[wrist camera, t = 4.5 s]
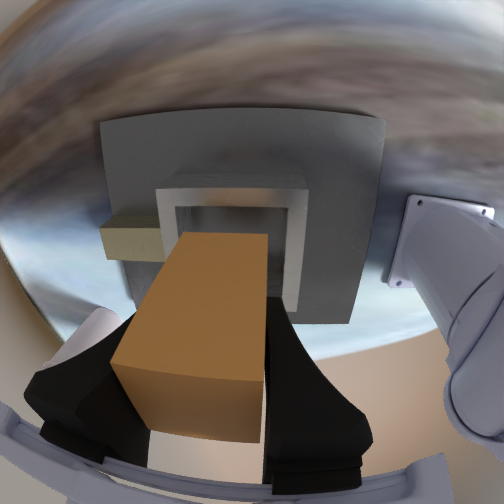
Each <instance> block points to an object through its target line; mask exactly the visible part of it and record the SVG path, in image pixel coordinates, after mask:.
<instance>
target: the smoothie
mask: <svg viewBox="0 0 504 504" xmlns="http://www.w3.org/2000/svg"><path fill="white" fill-rule="evenodd" d="M121 324H123V322H122V320H121V319H120V318H119V316H118V315H117V314H115V313H114V312H113V311H111V310H109V309H107V308H103V307H99V308H96V309H95V310H94V311H93V312H92V313H91V314H90V315H89V316H88V318H87V319H86V320H85V321H84V322H83V323H82V324H81V325H80V326H79V328H78V329H77V330H76V331H75V332H74V333H73V334H72V336H71V337H70V338H69V339H68V340H67V341H66V343H65V344H64V345H63V346H62V347H61V348H60V350H59V351H58V352H57V353H56V354H55V356H54V357H53V358H52V359H51V361H48V362H45V363H44V364H43V367H42V368H41V370H44V369H46V368H49V367H52V366H55V365H57V364H59V363H62V362H64V361H66V360H68V359H70V358H72V357H74V356H76V355H78V354H80V353H81V352H83V351H85V350H86V349H88V348H90V347H92V346H93V345H95V344H96V343H98V342H99V341H101V340H102V339H104V338H105V337H106V336H108V335H109V334H110V333H112V332H113V331H114V330H115V329H117V328H118V327H119V326H120V325H121ZM41 370H40V371H41Z"/></svg>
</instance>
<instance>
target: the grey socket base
mask: <svg viewBox="0 0 504 504" xmlns="http://www.w3.org/2000/svg"><path fill="white" fill-rule="evenodd" d="M385 128H386V119H381V118H376V117H370V116H364V115H356V114H349V113H340V112H331V111H321V110H308V109H292V108H260V107H241V108H210V109H193V110H181V111H170V112H161V113H153V114H145V115H138V116H131V117H125V118H119V119H113V120H108V121H104V122H100V134H101V144H102V152H103V161H104V168H105V175H106V182H107V188H108V194H109V200H110V205H111V210H112V215H113V216H112V217H111V218H110V219H109V220H108V221H107V222H106V223H105V224H103V225H102V226H101V227H100V228H99V229H100V234H101V238H102V242H103V246H104V250H105V253H106V257H107V260H123V264H124V268H125V272H126V275H127V279H128V283H129V286H130V290H131V293H132V297H133V300H134V303H135V307H136V310H138V308H139V306H140V304H141V303H142V301H143V299H144V297H145V296H146V294H147V292H148V290H149V289H150V287H151V285H152V283H153V282H154V280H155V278H156V276H157V275H158V273H159V271H160V270H161V268H162V266H163V265H164V263H165V261H166V260H167V258H168V256H169V255H170V253H171V251H172V250H173V248H174V246H175V245H176V243H177V242H178V240H179V238H180V237H181V235H182V234H183V232H205V233H250V234H268V254H267V295H266V297H281V298H282V299H283V303H284V307H285V310H286V312H287V315H288V317H289V320H290V322H291V324H349V321H350V317H351V314H352V310H353V306H354V303H355V299H356V295H357V291H358V287H359V283H360V279H361V275H362V271H363V267H364V263H365V258H366V254H367V249H368V244H369V239H370V234H371V229H372V224H373V218H374V213H375V207H376V201H377V195H378V188H379V181H380V174H381V166H382V158H383V149H384V139H385Z"/></svg>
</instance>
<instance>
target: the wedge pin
mask: <svg viewBox="0 0 504 504" xmlns="http://www.w3.org/2000/svg"><path fill="white" fill-rule="evenodd" d="M267 254H268V234H250V233H205V232H183V234H182V235H181V237H180V238H179V240H178V242H177V243H176V245H175V246H174V248H173V250H172V251H171V253H170V255H169V256H168V258H167V260H166V261H165V263H164V265H163V266H162V268H161V270H160V271H159V273H158V275H157V276H156V278H155V280H154V282H153V283H152V285H151V287H150V289H149V290H148V292H147V294H146V296H145V297H144V299H143V301H142V303H141V304H140V306H139V308H138V310H137V312H136V313H135V315H134V317H133V319H132V321H131V323H130V325H129V326H128V328H127V330H126V332H125V334H124V336H123V338H122V340H121V342H120V343H119V345H118V347H117V349H116V351H115V353H114V355H113V357H112V359H111V361H110V364H111V366H112V368H113V370H114V372H115V373H116V375H117V377H118V379H119V381H120V383H121V385H122V386H123V388H124V390H125V392H126V393H127V395H128V397H129V399H130V400H131V402H132V404H133V405H134V407H135V409H136V410H137V412H138V414H139V415H140V417H141V418H142V420H143V421H144V423H145V425H146V426H147V428H148V429H149V430H154V431H159V432H164V433H169V434H175V435H181V436H188V437H194V438H201V439H209V440H219V441H229V442H243V443H260V432H261V416H262V399H263V383H264V358H265V329H266V295H267Z"/></svg>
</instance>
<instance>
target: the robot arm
mask: <svg viewBox="0 0 504 504" xmlns="http://www.w3.org/2000/svg"><path fill="white" fill-rule="evenodd" d="M419 200H421V203H420V204H419V205H418V204H417V203H418V201H419ZM482 210H483V212H482ZM493 216H494V209H493V208H492V207H491V206H486V205H481V204H475V203H469V202H463V201H457V200H450V199H444V198H437V197H429V196H422V195H411V196H409V197H408V200H407V204H406V209H405V214H404V218H403V223H402V227H401V232H400V236H399V240H398V244H397V248H396V252H395V256H394V260H393V263H392V267H391V270H390V274H389V277H388V281H387V284H388V286H389V287H390V288H416V290H417V291H418V293H419V295H420V296H421V298H422V300H423V301H424V303H425V305H426V306H427V308H428V310H429V312H430V313H431V315H432V317H433V319H434V321H435V322H436V324H437V326H438V328H439V330H440V331H441V334H442V335H443V337H444V339H445V341H446V343H447V345H448V347H449V350H450V351H449V355H448V357H447V358H446V362H447V364H448V366H449V369H450V371H451V375H450V376H449V378H448V379H447V382H446V385H445V387H444V406H445V410H446V413H447V416H448V418H449V420H450V422H451V423H452V425H453V427H454V428H455V429H456V430H457V431H458V432H459V433H460V434H461V435H462V436H463V437H464V438H466V439H468V440H469V441H472V442H475V443H477V444H480V445H482V446H484V447H486V448H487V449H488V450H490V451H491V452H492V453H493V455H494V456H495V457H496V458H497V459H498V460H499V461H502V462H504V229H503V228H502V227H501V226H499V225H498V224H497V223H495V222H494V221H493V220H492V219H493ZM398 281H400V282H399V283H397V282H398ZM136 312H137V311H136ZM136 312H135V313H136ZM135 313H134V314H133V315H132V316H131V317H130V318H129V319H127V320H126V321H125V322H124V323H123V324H121V325H120V326H119V327H118V328H117V329H115V330H114V331H113V332H112V333H110V334H109V335H108V336H106V337H105V338H104V339H102V340H101V341H99V342H98V343H96V344H95V345H93V346H92V347H90V348H88V349H86V350H85V351H83V352H81V353H80V354H78V355H76V356H74V357H72V358H70V359H68V360H66V361H64V362H62V363H59V364H57V365H55V366H52V367H49V368H46V369H44V370H41V371H38V372H36V373H35V374H34V376H33V378H32V380H31V381H30V383H29V385H28V387H27V388H26V390H25V392H24V398H25V400H26V402H27V403H28V404H29V405H30V407H32V409H33V410H34V411H35V412H36V413H37V414H38V415H39V416H40V417H41V418H42V419H43V420H44V421H45V422H44V424H43V426H42V428H41V429H40V428H39V427H36V426H35V425H33V424H31V423H29V422H27V421H25V420H24V419H22V418H20V416H19V415H18V414H17V413H16V412H15V411H14V410H13V409H12V408H10V407H9V406H7V405H6V404H4V403H2V402H1V401H0V455H2V456H3V457H4V458H6V459H7V460H8V461H10V462H11V463H12V464H14V465H15V466H17V467H18V468H20V469H21V470H23V471H24V472H26V473H27V474H29V475H30V476H32V477H33V478H35V479H37V480H38V481H40V482H42V483H43V484H45V485H47V486H48V487H50V488H52V489H54V490H56V491H57V492H59V493H61V494H63V495H65V496H67V497H68V498H67V502H66V504H202V503H197V502H191V501H187V500H182V499H177V498H173V497H168V496H164V495H160V494H156V493H152V492H148V491H144V490H141V489H137V488H134V487H130V486H127V485H123V484H120V483H117V482H116V481H114V480H112V479H111V478H110V477H109V476H108V475H105V474H103V473H106V474H109V475H112V476H115V477H118V478H121V479H124V480H127V481H130V482H134V483H137V484H141V485H144V486H148V487H152V488H156V489H160V490H165V491H169V492H174V493H179V494H184V495H190V496H196V497H203V498H210V499H218V500H228V501H240V502H260V503H252V504H455V500H454V495H453V490H452V485H451V480H450V475H449V471H448V467H447V463H446V459H445V455H444V453H440V454H437V455H434V456H430V457H427V458H424V459H420V460H418V461H415V462H413V463H411V464H410V465H409V466H408V467H407V468H405V469H401V470H397V471H393V472H388V473H384V474H378V475H373V476H368V477H362V478H361V470H360V467H361V466H362V464H363V463H362V455H363V454H364V453H365V452H366V451H367V450H368V449H369V447H370V446H371V445H372V443H373V437H372V432H371V429H370V426H369V423H368V420H367V418H366V416H365V414H364V413H362V412H361V411H360V410H359V409H357V408H356V407H355V406H354V405H353V404H352V403H350V402H349V401H348V400H347V399H346V398H345V397H344V396H343V395H342V394H341V393H340V392H339V391H338V390H337V389H336V388H335V387H334V386H333V385H332V384H331V383H330V382H329V380H328V379H327V378H326V377H325V376H324V375H323V374H322V373H321V371H320V370H319V369H318V367H317V366H316V364H315V363H314V362H313V360H312V359H311V357H310V356H309V355H308V353H307V351H306V350H305V348H304V347H303V345H302V343H301V341H300V340H299V338H298V336H297V334H296V332H295V330H294V328H293V326H292V324H291V322H290V320H289V317H288V315H287V312H286V310H285V307H284V303H283V299H282V298H281V297H266V329H265V358H264V371H265V386H266V421H265V443H264V460H263V478H262V484H246V483H233V482H222V481H213V480H206V479H199V478H192V477H186V476H180V475H175V474H170V473H165V472H161V471H156V470H152V469H148V468H147V461H148V449H149V440H150V431H151V430H149V429H148V428H147V426H146V425H145V423H144V421H143V420H142V418H141V417H140V415H139V414H138V412H137V410H136V409H135V407H134V405H133V404H132V402H131V400H130V399H129V397H128V395H127V393H126V392H125V390H124V388H123V386H122V385H121V383H120V381H119V379H118V377H117V375H116V373H115V372H114V370H113V368H112V366H111V364H110V361H111V359H112V357H113V355H114V353H115V351H116V349H117V347H118V345H119V343H120V342H121V340H122V338H123V336H124V334H125V332H126V330H127V328H128V326H129V325H130V323H131V321H132V319H133V317H134V315H135ZM92 468H93V469H92ZM94 469H95V470H94ZM97 470H98V471H97ZM99 471H101V472H103V473H101V472H99Z"/></svg>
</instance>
